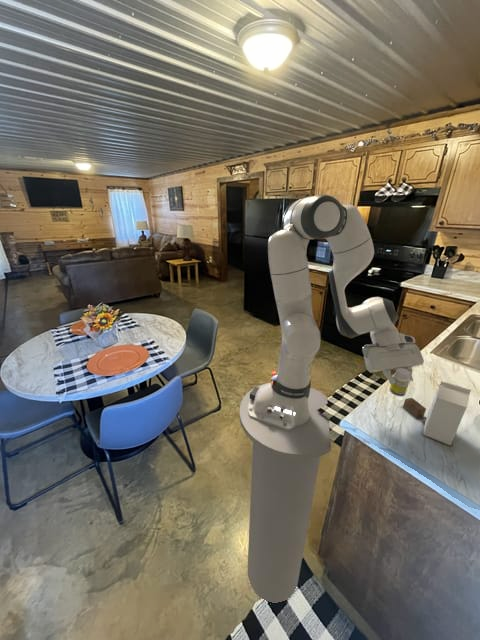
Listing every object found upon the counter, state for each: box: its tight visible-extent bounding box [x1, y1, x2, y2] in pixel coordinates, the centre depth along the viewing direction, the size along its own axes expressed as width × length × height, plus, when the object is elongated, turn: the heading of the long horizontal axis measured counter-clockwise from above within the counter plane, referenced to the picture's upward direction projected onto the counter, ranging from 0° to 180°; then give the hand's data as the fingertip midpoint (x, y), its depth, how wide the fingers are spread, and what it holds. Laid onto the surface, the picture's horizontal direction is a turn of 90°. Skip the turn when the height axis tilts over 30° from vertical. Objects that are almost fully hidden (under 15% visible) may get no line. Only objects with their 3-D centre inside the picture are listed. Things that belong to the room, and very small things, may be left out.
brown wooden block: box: [402, 397, 427, 420], centre depth 94 cm, size 6×3×4 cm, turn 13°
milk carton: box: [423, 380, 472, 446], centre depth 82 cm, size 7×7×19 cm
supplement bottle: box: [389, 368, 411, 398], centre depth 86 cm, size 5×5×8 cm
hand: (402, 382), depth 85 cm, fingers closed on supplement bottle, 5 cm apart
